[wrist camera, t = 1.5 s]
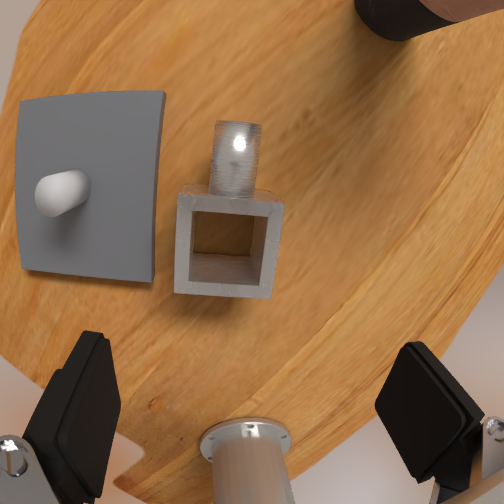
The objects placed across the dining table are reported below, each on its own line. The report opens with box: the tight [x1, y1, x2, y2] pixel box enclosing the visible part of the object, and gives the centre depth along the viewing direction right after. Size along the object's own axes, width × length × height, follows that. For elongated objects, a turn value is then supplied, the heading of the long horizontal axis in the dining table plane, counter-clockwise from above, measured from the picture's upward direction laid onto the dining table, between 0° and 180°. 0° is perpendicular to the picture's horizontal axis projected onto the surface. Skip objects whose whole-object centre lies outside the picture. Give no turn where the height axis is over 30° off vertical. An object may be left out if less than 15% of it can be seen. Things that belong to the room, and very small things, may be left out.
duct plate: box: [15, 91, 166, 283], centre depth 21 cm, size 16×14×6 cm
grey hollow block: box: [174, 121, 285, 299], centre depth 23 cm, size 12×7×6 cm, turn 173°
